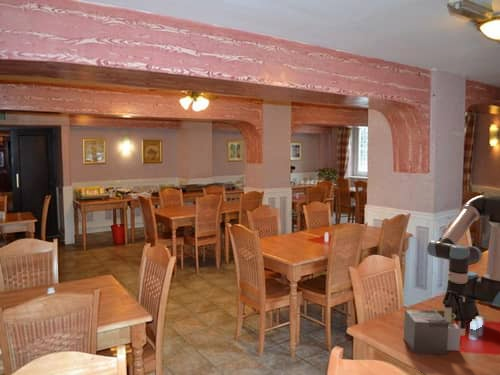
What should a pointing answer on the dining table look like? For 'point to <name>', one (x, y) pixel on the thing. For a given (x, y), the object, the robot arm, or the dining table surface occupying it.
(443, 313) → the plant pot
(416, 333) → the box
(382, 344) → the dining table surface
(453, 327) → the upright grey box
